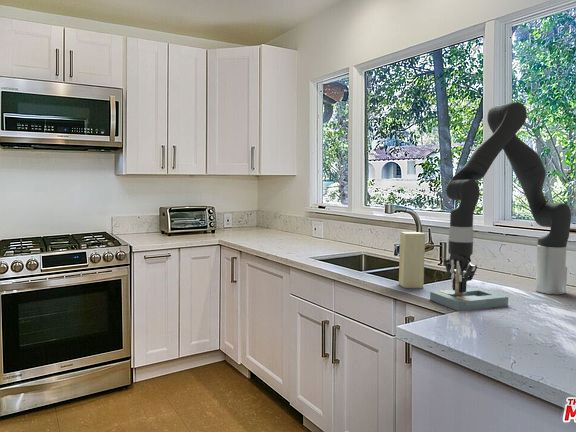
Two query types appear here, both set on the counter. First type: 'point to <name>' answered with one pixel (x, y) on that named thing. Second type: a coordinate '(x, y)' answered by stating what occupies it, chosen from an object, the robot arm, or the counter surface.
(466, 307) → the keyhole board
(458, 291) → the boss peg
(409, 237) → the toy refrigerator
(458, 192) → the robot arm
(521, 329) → the counter surface
